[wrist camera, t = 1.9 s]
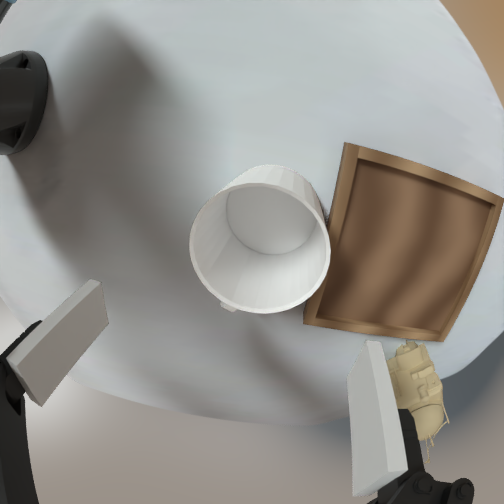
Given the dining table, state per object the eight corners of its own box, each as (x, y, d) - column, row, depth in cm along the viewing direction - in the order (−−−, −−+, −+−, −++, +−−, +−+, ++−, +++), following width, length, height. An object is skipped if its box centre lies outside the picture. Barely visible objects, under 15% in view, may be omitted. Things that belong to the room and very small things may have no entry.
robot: (363, 356, 32) (378, 462, 18) (421, 329, 29) (460, 430, 15) (383, 396, 35) (396, 484, 21) (432, 374, 32) (459, 459, 18)
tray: (303, 312, 30) (303, 323, 28) (344, 142, 22) (348, 143, 21) (438, 331, 29) (443, 341, 27) (494, 193, 21) (504, 198, 19)
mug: (262, 143, 24) (242, 151, 15) (340, 207, 25) (360, 247, 17) (190, 240, 29) (150, 286, 20) (260, 292, 30) (245, 353, 22)
